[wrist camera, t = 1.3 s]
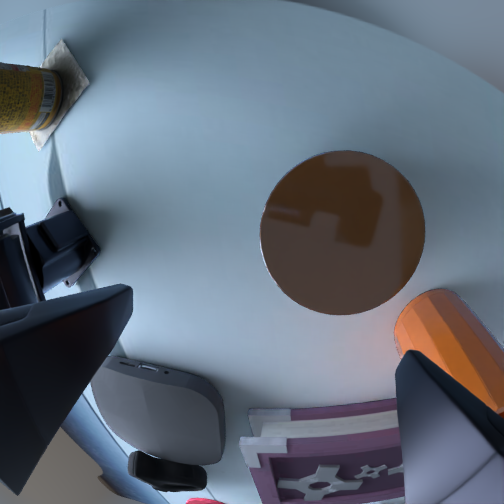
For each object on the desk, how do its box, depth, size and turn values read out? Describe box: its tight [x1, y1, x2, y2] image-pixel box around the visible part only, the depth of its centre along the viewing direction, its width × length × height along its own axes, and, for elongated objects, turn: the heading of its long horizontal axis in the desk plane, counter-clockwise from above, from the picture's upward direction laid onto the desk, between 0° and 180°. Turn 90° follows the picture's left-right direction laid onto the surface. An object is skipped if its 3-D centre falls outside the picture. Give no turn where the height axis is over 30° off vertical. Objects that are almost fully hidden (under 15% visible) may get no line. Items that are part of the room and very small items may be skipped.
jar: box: [259, 150, 425, 315], centre depth 18 cm, size 9×9×5 cm
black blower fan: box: [128, 450, 207, 492], centre depth 31 cm, size 4×12×10 cm
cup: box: [394, 289, 504, 419], centre depth 16 cm, size 7×7×13 cm
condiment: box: [0, 39, 90, 151], centre depth 15 cm, size 7×8×12 cm
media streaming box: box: [90, 356, 225, 465], centre depth 28 cm, size 15×15×3 cm
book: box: [239, 398, 405, 504], centre depth 25 cm, size 25×16×5 cm, turn 99°
